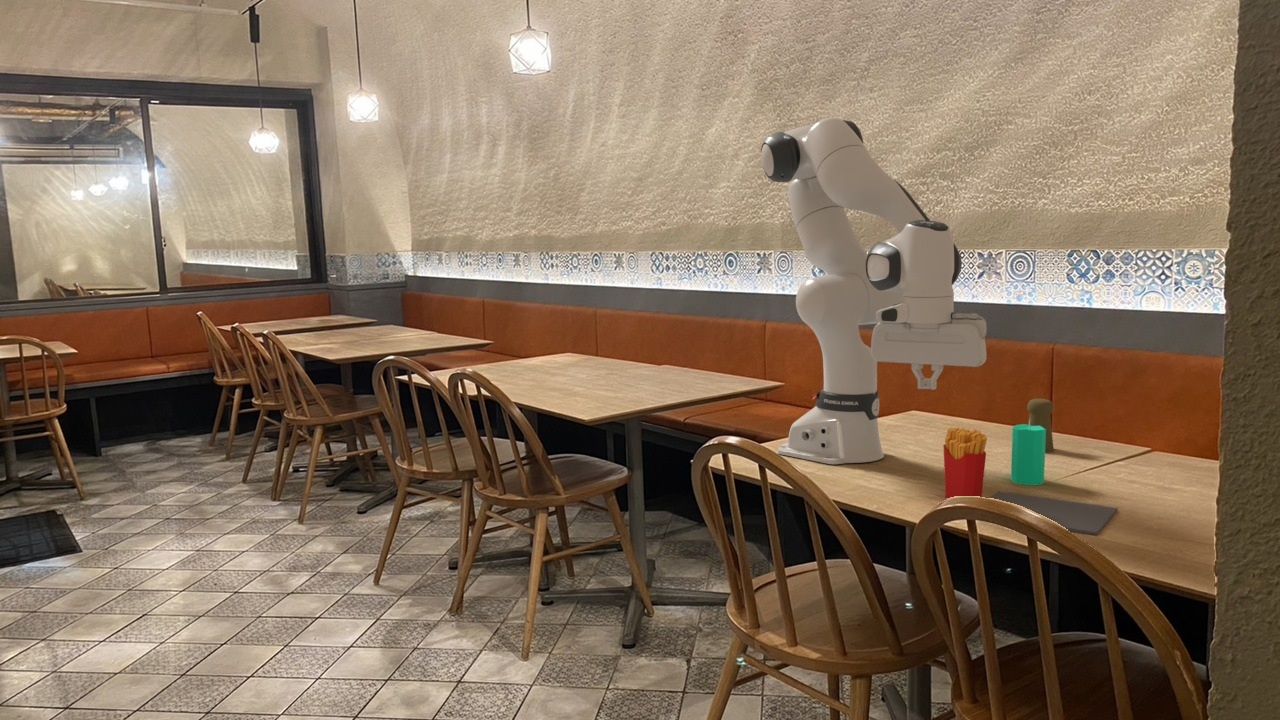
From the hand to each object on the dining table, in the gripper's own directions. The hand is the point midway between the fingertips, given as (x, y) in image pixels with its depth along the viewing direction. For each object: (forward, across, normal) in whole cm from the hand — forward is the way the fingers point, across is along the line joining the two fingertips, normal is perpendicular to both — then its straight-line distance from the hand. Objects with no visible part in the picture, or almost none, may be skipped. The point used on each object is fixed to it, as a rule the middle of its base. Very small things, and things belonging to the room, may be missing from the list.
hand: (927, 388), depth 178 cm
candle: (+20, -12, -20) cm, 31 cm away
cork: (+20, -8, -48) cm, 53 cm away
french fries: (+20, -7, 0) cm, 21 cm away
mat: (+20, -20, 0) cm, 29 cm away
